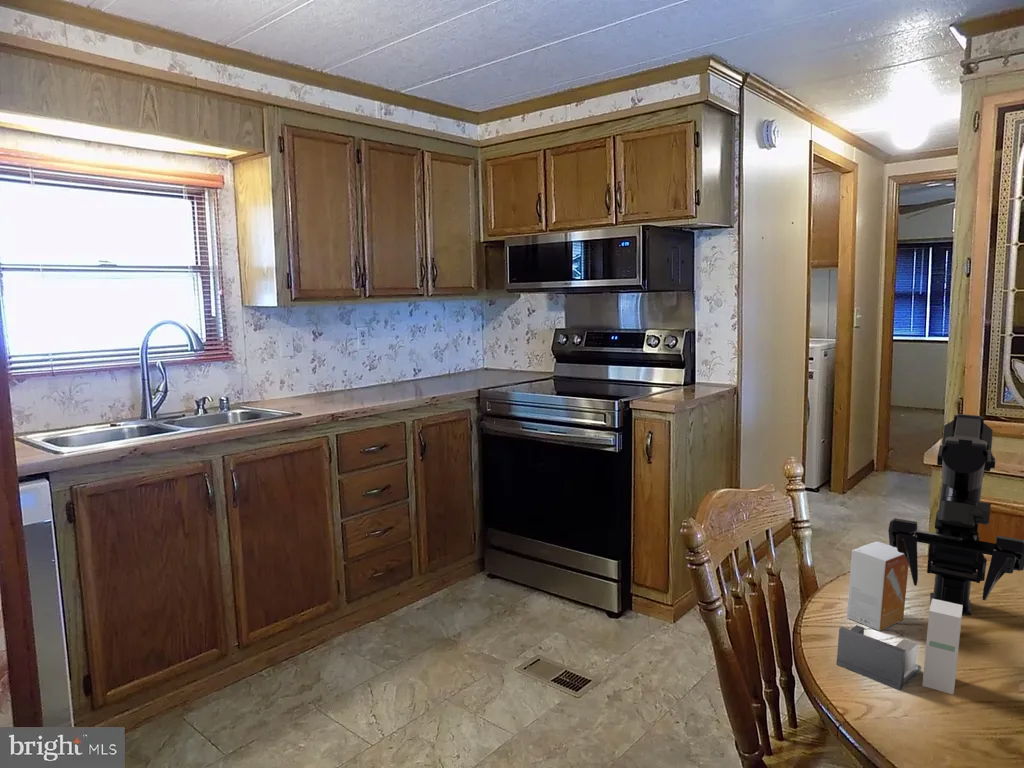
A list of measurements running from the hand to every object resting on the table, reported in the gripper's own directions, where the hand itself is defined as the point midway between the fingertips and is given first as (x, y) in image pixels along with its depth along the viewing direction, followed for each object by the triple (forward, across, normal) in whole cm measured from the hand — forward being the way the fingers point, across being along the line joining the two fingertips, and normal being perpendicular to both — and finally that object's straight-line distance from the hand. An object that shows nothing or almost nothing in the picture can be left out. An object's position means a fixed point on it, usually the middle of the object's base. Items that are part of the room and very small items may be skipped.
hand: (948, 591), depth 111 cm
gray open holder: (+14, -8, +4) cm, 16 cm away
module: (+13, 0, +4) cm, 14 cm away
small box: (+1, -11, +17) cm, 20 cm away
